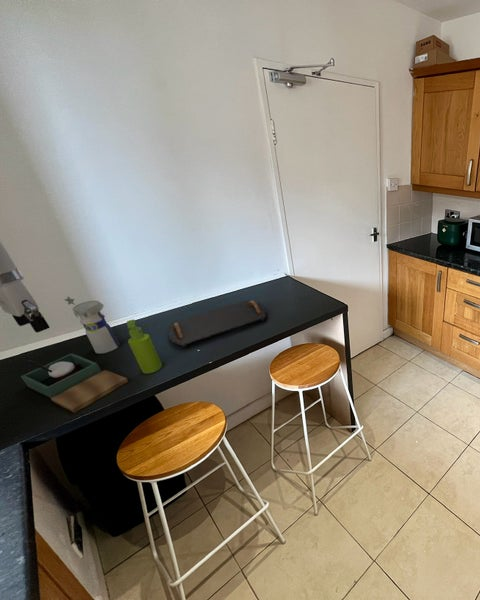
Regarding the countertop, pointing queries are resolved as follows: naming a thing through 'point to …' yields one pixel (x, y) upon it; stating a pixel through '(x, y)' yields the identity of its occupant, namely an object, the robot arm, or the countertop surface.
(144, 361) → the soap dispenser
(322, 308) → the countertop surface
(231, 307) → the serving tray
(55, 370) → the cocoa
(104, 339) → the water bottle
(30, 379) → the crate
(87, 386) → the cutting board
